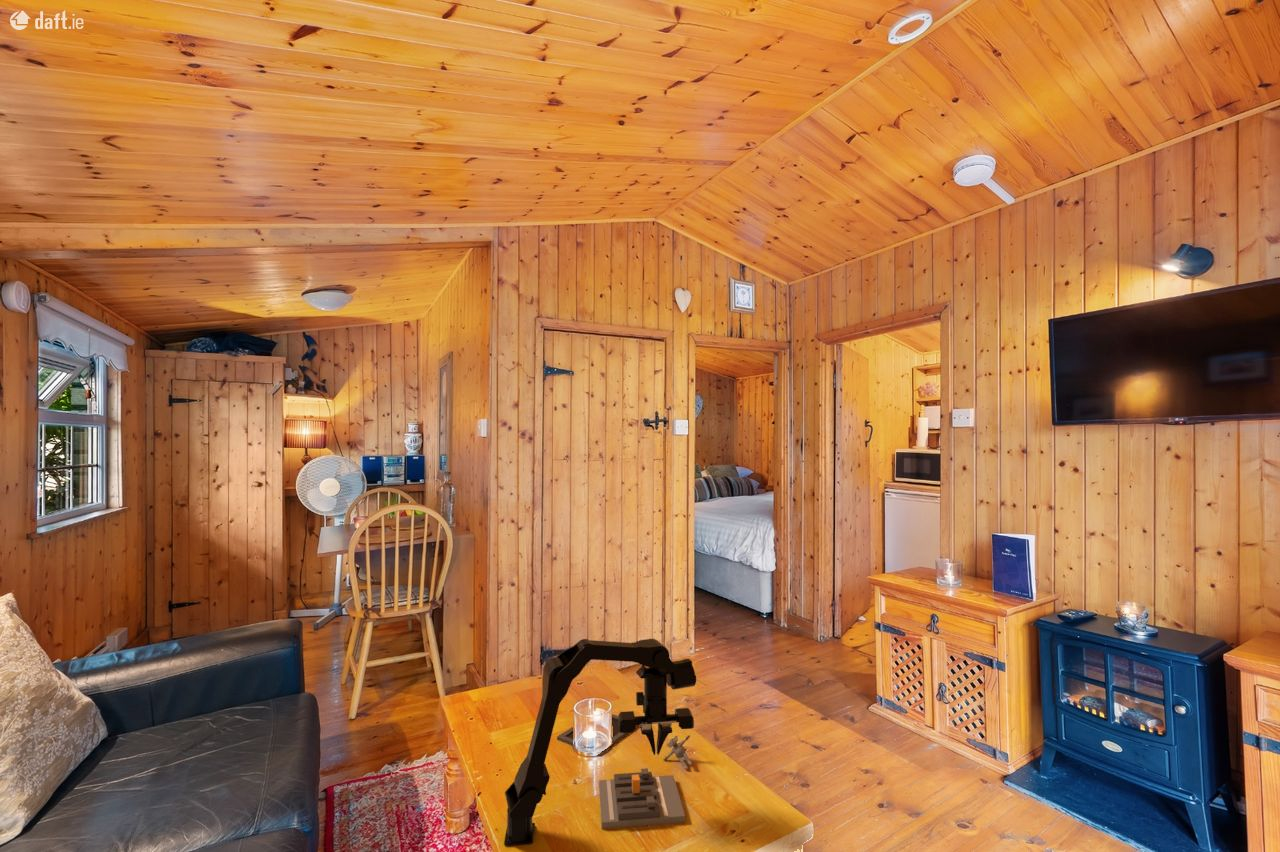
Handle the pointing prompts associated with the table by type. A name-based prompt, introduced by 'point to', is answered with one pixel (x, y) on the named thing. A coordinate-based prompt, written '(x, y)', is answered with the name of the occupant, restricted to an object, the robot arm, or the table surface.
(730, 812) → the table surface
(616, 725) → the picture frame
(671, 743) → the grey toy figurine
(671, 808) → the panel
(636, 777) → the handle
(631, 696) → the table surface
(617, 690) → the table surface
